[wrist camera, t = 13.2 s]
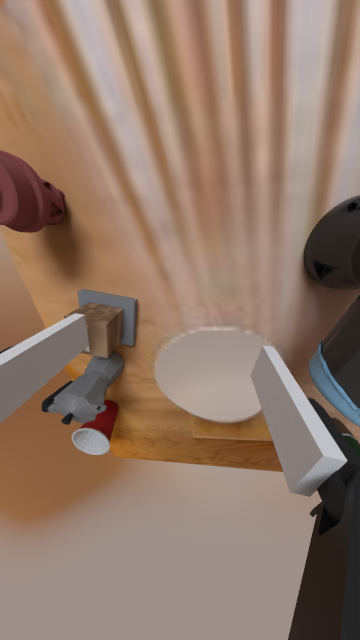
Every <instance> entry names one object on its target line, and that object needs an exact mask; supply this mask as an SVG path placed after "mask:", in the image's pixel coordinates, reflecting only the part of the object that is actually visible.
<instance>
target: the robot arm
mask: <svg viewBox="0 0 360 640" xmlns="http://www.w3.org/2000/svg"><path fill="white" fill-rule="evenodd" d="M304 263H305V267H306V270H307V272H308V274H309V275H310V277H311V278H312V279H313V280H315V281H316V282H318V283H320V284H322V285H325V286H328V287H331V288H335V289H359V288H360V195H359V196H356V197H353V198H350V199H348V200H346V201H344V202H342V203H340V204H339V205H337V206H336V207H334V208H333V209H332V210H330V211H329V212H328V213H327V214H326V215H325V216H324V217H323V218H322V219H321V220H320V221H319V222H318V224H317V225H316V226H315V228H314V229H313V231H312V233H311V234H310V236H309V239H308V241H307V244H306V247H305V253H304ZM88 346H89V341H88V335H87V328H86V321H85V315H82V314H77V313H75V314H73V315H71V316H69V317H67V318H65V319H64V320H62V321H60V322H58V323H56V324H54V325H53V326H51V327H49V328H47V329H45V330H43V331H42V332H40V333H38V334H36V335H34V336H32V337H31V338H29V339H27V340H25V341H23V342H21V343H20V344H17V345H14V346H12V347H9V348H7V349H5V350H3V351H1V352H0V423H2V422H3V421H4V420H5V419H6V418H7V417H8V416H9V415H11V414H12V413H13V412H14V411H15V410H16V409H17V408H18V407H20V406H21V405H22V404H23V403H24V402H25V401H26V400H28V399H29V398H30V397H31V396H32V395H33V394H34V393H35V392H37V391H38V390H39V389H40V388H41V387H42V386H43V385H44V384H46V383H47V382H48V381H49V380H50V379H51V378H52V377H53V376H55V375H56V374H57V373H58V372H59V371H60V370H61V369H63V368H64V367H65V366H66V365H67V364H68V363H69V362H71V361H72V360H73V359H74V358H75V357H76V356H77V355H79V354H80V353H81V352H82V351H83V350H84V349H85V348H86V347H88ZM308 369H309V373H310V375H311V379H312V381H313V383H314V384H315V386H316V387H317V389H318V390H319V391H320V393H321V394H322V395H323V396H324V397H325V398H326V400H327V401H328V402H329V403H330V404H331V405H332V406H333V407H334V408H335V409H337V410H338V411H339V412H340V413H341V414H342V415H344V416H345V417H346V418H347V419H349V420H350V421H351V422H353V423H354V424H356V425H357V426H359V427H360V295H359V296H358V297H357V298H356V300H355V301H354V302H353V304H352V305H351V306H350V307H349V309H348V310H347V311H346V313H345V314H344V315H343V316H342V318H341V319H340V320H339V321H338V323H337V324H336V325H335V327H334V328H333V329H332V330H331V332H330V333H329V334H328V336H327V337H326V338H325V339H324V340H322V341H321V342H320V343H319V345H318V349H317V350H316V352H315V353H314V355H313V356H312V358H311V359H310V361H309V364H308ZM251 377H252V380H253V383H254V386H255V389H256V392H257V395H258V398H259V401H260V404H261V407H262V410H263V413H264V416H265V419H266V422H267V425H268V428H269V431H270V434H271V437H272V440H273V443H274V446H275V449H276V451H277V454H278V457H279V460H280V463H281V466H282V469H283V472H284V475H285V478H286V481H287V484H288V487H289V490H290V492H292V493H296V494H300V495H305V496H309V497H310V496H311V495H312V494H313V493H314V492H315V491H316V490H317V491H318V493H319V495H320V497H321V499H322V502H321V503H320V504H318V505H317V506H316V507H315V508H314V509H313V510H312V511H311V513H310V515H311V516H312V517H313V516H315V515H316V514H317V516H316V520H315V524H314V529H313V533H312V537H311V543H310V546H309V551H308V555H307V560H306V564H305V568H304V573H303V577H302V581H301V585H300V590H299V595H298V598H297V603H296V607H295V611H294V616H293V620H292V625H291V629H290V633H289V638H288V640H360V459H359V457H358V456H357V454H356V453H355V452H354V450H353V449H352V447H351V446H350V445H349V443H348V442H347V440H346V439H345V438H344V436H343V435H342V433H341V432H340V431H339V430H338V428H337V426H336V425H335V423H334V422H333V421H331V418H330V416H329V415H328V414H327V412H326V411H325V409H324V408H323V407H322V406H321V405H320V404H318V403H317V402H316V401H315V400H314V399H311V398H306V396H305V394H304V393H303V391H302V390H301V388H300V387H299V385H298V384H297V382H296V381H295V379H294V377H293V376H292V374H291V373H290V371H289V370H288V368H287V367H286V365H285V364H284V362H283V361H282V359H281V357H280V356H279V354H278V353H277V351H276V350H275V348H274V347H268V346H262V349H261V351H260V354H259V356H258V359H257V361H256V364H255V366H254V369H253V371H252V374H251Z"/></svg>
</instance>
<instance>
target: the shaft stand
mask: <svg viewBox="0 0 360 640" xmlns="http://www.w3.org/2000/svg"><path fill="white" fill-rule="evenodd" d="M78 298H79V306H80V307H81V306H83V305H85V304H87V303H89V302H92V303H98V304H103V305H108V306H113V307H119V308H124V315H123V339H122V340H121V341H120V344H125V345H130V346H133V345H134V343H135V338H136V318H137V299H133V298H128V297H123V296H117V295H112V294H107V293H102V292H96V291H91V290H86V289H82V290H80V291H78Z"/></svg>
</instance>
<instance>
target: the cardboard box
mask: <svg viewBox="0 0 360 640" xmlns="http://www.w3.org/2000/svg"><path fill="white" fill-rule="evenodd" d="M75 313H77V314H82V315H85V321H86V328H87V335H88V341H89V346H88V347H86V348H85V349H84V350H83V351H82V352H81V353H84V354H89V355H94V356H99V357H104V358H108V357H109V356H110V354H111V353H112V352H113V350H114V349H115V348H116V347H117V345H118V344H119V343H120V341H121V340H122V339H123V315H124V308H119V307H113V306H108V305H103V304H98V303H92V302H89V303H87V304H85V305H83V306H81V307H80V308H78V309H76V310H74V311H73V312H71V313H69V314H67V315H66V316H64V318H67V317H69V316H71V315H73V314H75Z"/></svg>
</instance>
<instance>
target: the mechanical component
mask: <svg viewBox="0 0 360 640" xmlns="http://www.w3.org/2000/svg"><path fill="white" fill-rule="evenodd" d="M63 198H64V195H63V192H62V191H61V190H59V189H56V188H55V187H54V186H53V185H52V184H51V183H49V182H48V181H46V180H43V179H41V178H40V177H39V176H38V175H37V173H36V172H35V171H34V170H33V168H32V167H31V166H30V165H28V164H27V163H26V162H25V161H23V160H22V159H20V158H18V157H17V156H14V155H12V154H10V153H8V152H5V151H1V150H0V225H5V226H7V227H8V228H10V229H12V230H15V231H18V232H31V233H32V232H37V231H39V230H41V229H42V228H43V227H44V226H45V225H46V224H48V225H55V224H60V223H61V220H62V218H63V215H64V204H63Z"/></svg>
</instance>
